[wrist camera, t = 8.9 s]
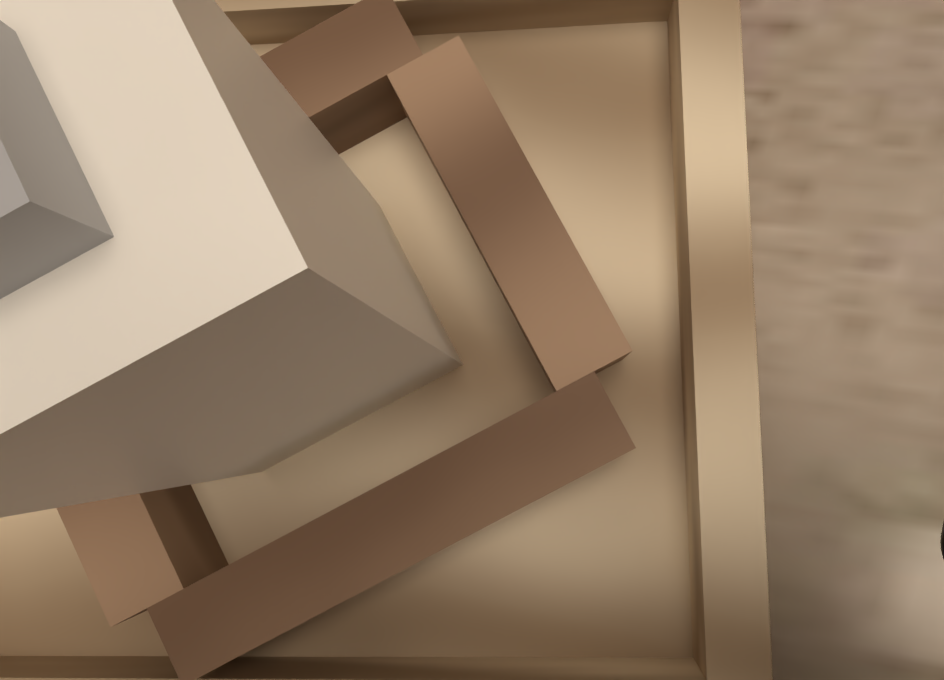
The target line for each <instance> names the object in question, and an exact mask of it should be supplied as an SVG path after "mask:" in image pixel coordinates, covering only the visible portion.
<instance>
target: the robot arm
mask: <svg viewBox="0 0 944 680" xmlns="http://www.w3.org/2000/svg"><path fill="white" fill-rule="evenodd" d="M941 551H942V555H943V559H944V522H943V528H942V533H941Z"/></svg>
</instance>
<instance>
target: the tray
mask: <svg viewBox="0 0 944 680" xmlns="http://www.w3.org/2000/svg"><path fill="white" fill-rule="evenodd" d="M214 1H215V2H216V3H217V4H218V6H219V7H220V8H221V9H222V11H223V12H224V13H225V14H226V16H227V17H228V18H229V19H230V21H231V22H232V23H233V24H234V25H235V27H236V28H237V29H238V30H239V32H240V33H241V34H242V35H243V37H244V38H245V39H246V40H247V42H248V43H249V44H250V45H251V47H252V48H253V49H254V50H255V52H256V53H257V54H258V55H259V56H260V58H261V59H262V60H263V61H264V63H265V64H266V65H267V66H268V68H269V69H270V70H271V71H272V73H273V74H274V75H275V76H276V78H277V79H278V80H279V81H280V83H281V84H282V85H283V86H284V87H285V89H286V90H287V91H288V92H289V94H290V95H291V96H292V97H293V99H294V100H295V101H296V102H297V104H298V105H299V106H300V107H301V109H302V110H303V111H304V112H305V114H306V115H307V116H308V117H309V118H310V120H311V121H312V122H313V123H314V125H315V126H316V127H317V128H318V130H319V131H320V132H321V133H322V135H323V136H324V137H325V138H326V140H327V141H328V142H329V143H330V145H331V146H332V147H333V148H334V149H335V151H336V152H337V153H338V154H339V156H340V157H341V158H342V159H343V161H344V162H345V163H346V164H347V166H348V167H349V168H350V169H351V171H352V172H353V173H354V174H355V176H356V177H357V178H358V179H359V180H360V182H361V183H362V184H363V185H364V187H365V188H366V189H367V190H368V192H369V193H370V194H371V195H372V197H373V198H374V199H375V200H376V202H377V203H378V204H379V205H380V207H381V209H382V211H383V213H384V215H385V216H386V218H387V220H388V222H389V224H390V226H391V228H392V230H393V232H394V234H395V236H396V237H397V239H398V241H399V243H400V245H401V247H402V249H403V251H404V253H405V255H406V257H407V258H408V260H409V262H410V264H411V266H412V268H413V270H414V272H415V274H416V276H417V278H418V279H419V281H420V283H421V285H422V287H423V289H424V291H425V293H426V295H427V297H428V299H429V300H430V302H431V304H432V306H433V308H434V310H435V312H436V314H437V316H438V318H439V320H440V321H441V323H442V325H443V327H444V329H445V331H446V333H447V335H448V337H449V339H450V340H451V342H452V344H453V346H454V348H455V350H456V352H457V354H458V356H459V358H460V360H461V361H462V363H463V365H462V366H460V367H458V368H456V369H454V370H452V371H450V372H449V373H447V374H445V375H443V376H441V377H439V378H437V379H435V380H434V381H432V382H430V383H428V384H426V385H424V386H422V387H420V388H419V389H417V390H415V391H413V392H411V393H409V394H407V395H405V396H404V397H402V398H400V399H398V400H396V401H394V402H392V403H390V404H389V405H387V406H385V407H383V408H381V409H379V410H377V411H375V412H373V413H372V414H370V415H368V416H366V417H364V418H362V419H360V420H358V421H357V422H355V423H353V424H351V425H349V426H347V427H345V428H343V429H342V430H340V431H338V432H336V433H334V434H332V435H330V436H328V437H327V438H325V439H323V440H321V441H319V442H317V443H315V444H313V445H311V446H310V447H308V448H306V449H304V450H302V451H300V452H298V453H296V454H295V455H293V456H291V457H289V458H287V459H285V460H283V461H281V462H280V463H278V464H276V465H274V466H272V467H270V468H268V469H266V470H265V471H263V472H259V473H254V474H248V475H242V476H236V477H231V478H225V479H219V480H213V481H208V482H202V483H196V484H190V485H185V486H179V487H173V488H168V489H162V490H156V491H150V492H145V493H139V494H133V495H127V496H122V497H116V498H110V499H105V500H99V501H93V502H87V503H82V504H76V505H70V506H64V507H59V508H53V509H47V510H42V511H36V512H30V513H24V514H19V515H13V516H7V517H1V518H0V680H773V675H772V654H771V634H770V613H769V592H768V572H767V551H766V531H765V510H764V489H763V469H762V448H761V428H760V407H759V386H758V366H757V345H756V324H755V304H754V283H753V263H752V242H751V221H750V201H749V180H748V160H747V139H746V118H745V98H744V77H743V56H742V36H741V15H740V0H214Z"/></svg>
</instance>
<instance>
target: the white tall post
mask: <svg viewBox="0 0 944 680" xmlns="http://www.w3.org/2000/svg"><path fill="white" fill-rule="evenodd" d="M462 365H463V363H462V361H461V360H460V358H459V356H458V354H457V352H456V350H455V348H454V346H453V344H452V342H451V340H450V339H449V337H448V335H447V333H446V331H445V329H444V327H443V325H442V323H441V321H440V320H439V318H438V316H437V314H436V312H435V310H434V308H433V306H432V304H431V302H430V300H429V299H428V297H427V295H426V293H425V291H424V289H423V287H422V285H421V283H420V281H419V279H418V278H417V276H416V274H415V272H414V270H413V268H412V266H411V264H410V262H409V260H408V258H407V257H406V255H405V253H404V251H403V249H402V247H401V245H400V243H399V241H398V239H397V237H396V236H395V234H394V232H393V230H392V228H391V226H390V224H389V222H388V220H387V218H386V216H385V215H384V213H383V211H382V209H381V207H380V205H379V204H378V203H377V202H376V200H375V199H374V198H373V197H372V195H371V194H370V193H369V192H368V190H367V189H366V188H365V187H364V185H363V184H362V183H361V182H360V180H359V179H358V178H357V177H356V176H355V174H354V173H353V172H352V171H351V169H350V168H349V167H348V166H347V164H346V163H345V162H344V161H343V159H342V158H341V157H340V156H339V154H338V153H337V152H336V151H335V149H334V148H333V147H332V146H331V145H330V143H329V142H328V141H327V140H326V138H325V137H324V136H323V135H322V133H321V132H320V131H319V130H318V128H317V127H316V126H315V125H314V123H313V122H312V121H311V120H310V118H309V117H308V116H307V115H306V114H305V112H304V111H303V110H302V109H301V107H300V106H299V105H298V104H297V102H296V101H295V100H294V99H293V97H292V96H291V95H290V94H289V92H288V91H287V90H286V89H285V87H284V86H283V85H282V84H281V83H280V81H279V80H278V79H277V78H276V76H275V75H274V74H273V73H272V71H271V70H270V69H269V68H268V66H267V65H266V64H265V63H264V61H263V60H262V59H261V58H260V56H259V55H258V54H257V53H256V52H255V50H254V49H253V48H252V47H251V45H250V44H249V43H248V42H247V40H246V39H245V38H244V37H243V35H242V34H241V33H240V32H239V30H238V29H237V28H236V27H235V25H234V24H233V23H232V22H231V21H230V19H229V18H228V17H227V16H226V14H225V13H224V12H223V11H222V9H221V8H220V7H219V6H218V4H217V3H216V2H215V1H214V0H0V518H1V517H7V516H13V515H19V514H24V513H30V512H36V511H42V510H47V509H53V508H59V507H64V506H70V505H76V504H82V503H87V502H93V501H99V500H105V499H110V498H116V497H122V496H127V495H133V494H139V493H145V492H150V491H156V490H162V489H168V488H173V487H179V486H185V485H190V484H196V483H202V482H208V481H213V480H219V479H225V478H231V477H236V476H242V475H248V474H254V473H259V472H263V471H265V470H266V469H268V468H270V467H272V466H274V465H276V464H278V463H280V462H281V461H283V460H285V459H287V458H289V457H291V456H293V455H295V454H296V453H298V452H300V451H302V450H304V449H306V448H308V447H310V446H311V445H313V444H315V443H317V442H319V441H321V440H323V439H325V438H327V437H328V436H330V435H332V434H334V433H336V432H338V431H340V430H342V429H343V428H345V427H347V426H349V425H351V424H353V423H355V422H357V421H358V420H360V419H362V418H364V417H366V416H368V415H370V414H372V413H373V412H375V411H377V410H379V409H381V408H383V407H385V406H387V405H389V404H390V403H392V402H394V401H396V400H398V399H400V398H402V397H404V396H405V395H407V394H409V393H411V392H413V391H415V390H417V389H419V388H420V387H422V386H424V385H426V384H428V383H430V382H432V381H434V380H435V379H437V378H439V377H441V376H443V375H445V374H447V373H449V372H450V371H452V370H454V369H456V368H458V367H460V366H462Z"/></svg>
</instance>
